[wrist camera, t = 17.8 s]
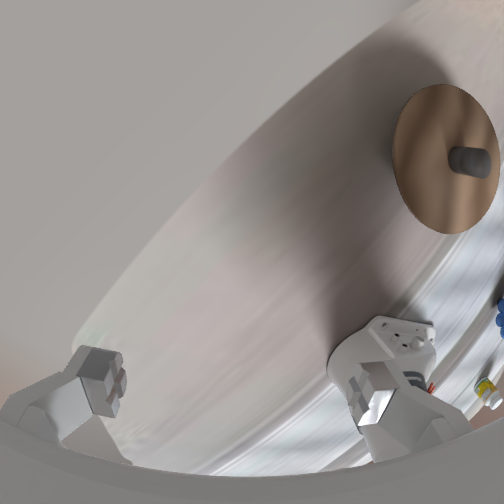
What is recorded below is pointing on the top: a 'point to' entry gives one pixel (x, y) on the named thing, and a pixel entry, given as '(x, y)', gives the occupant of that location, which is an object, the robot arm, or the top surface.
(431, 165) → the lid
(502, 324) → the grapes
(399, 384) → the robot arm
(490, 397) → the supplement bottle
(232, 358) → the top surface
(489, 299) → the top surface
